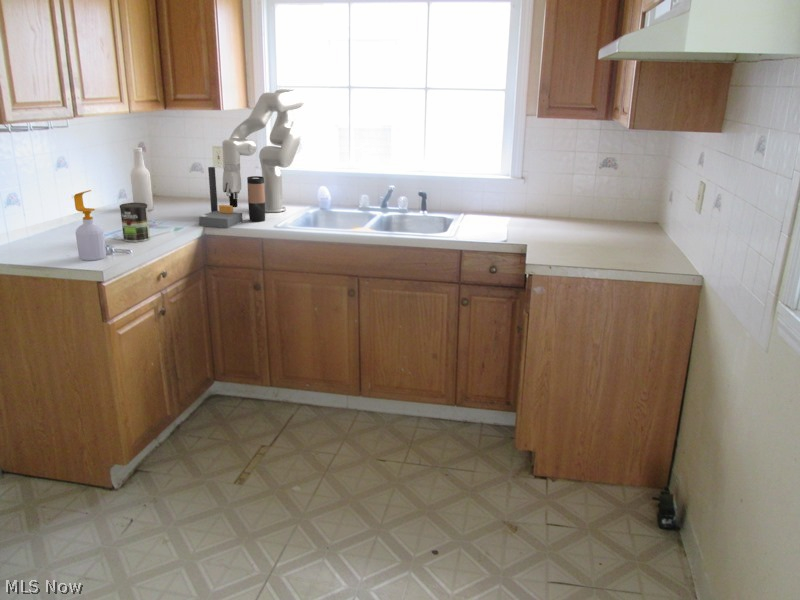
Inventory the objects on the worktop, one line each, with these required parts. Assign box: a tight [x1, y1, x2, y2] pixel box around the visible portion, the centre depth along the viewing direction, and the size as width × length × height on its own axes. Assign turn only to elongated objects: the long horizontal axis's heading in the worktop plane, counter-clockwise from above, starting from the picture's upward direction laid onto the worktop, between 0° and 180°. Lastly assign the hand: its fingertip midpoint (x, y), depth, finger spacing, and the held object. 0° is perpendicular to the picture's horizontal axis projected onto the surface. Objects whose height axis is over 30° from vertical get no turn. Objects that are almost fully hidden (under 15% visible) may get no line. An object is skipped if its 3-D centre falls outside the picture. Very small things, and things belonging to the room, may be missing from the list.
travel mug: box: [246, 175, 266, 223], centre depth 298 cm, size 8×8×20 cm
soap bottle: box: [73, 189, 107, 262], centre depth 230 cm, size 9×9×25 cm
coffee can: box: [119, 202, 151, 243], centre depth 259 cm, size 10×10×14 cm
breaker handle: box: [218, 204, 234, 213], centre depth 295 cm, size 2×6×3 cm, turn 76°
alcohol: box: [130, 146, 154, 212], centre depth 310 cm, size 9×9×30 cm
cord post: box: [207, 166, 219, 212], centre depth 302 cm, size 8×8×23 cm
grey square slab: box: [198, 210, 244, 229], centre depth 292 cm, size 14×14×4 cm
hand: (233, 206), depth 302 cm, fingers closed
